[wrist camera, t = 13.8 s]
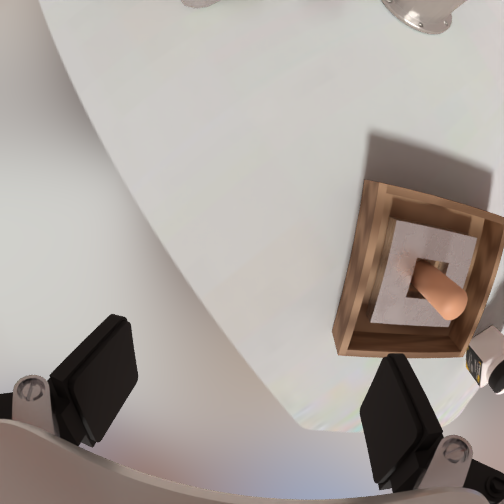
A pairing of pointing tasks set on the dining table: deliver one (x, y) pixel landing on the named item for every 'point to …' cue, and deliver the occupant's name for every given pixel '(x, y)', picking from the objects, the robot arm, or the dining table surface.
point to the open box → (365, 270)
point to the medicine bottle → (487, 359)
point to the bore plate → (402, 266)
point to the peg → (439, 290)
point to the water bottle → (198, 3)
